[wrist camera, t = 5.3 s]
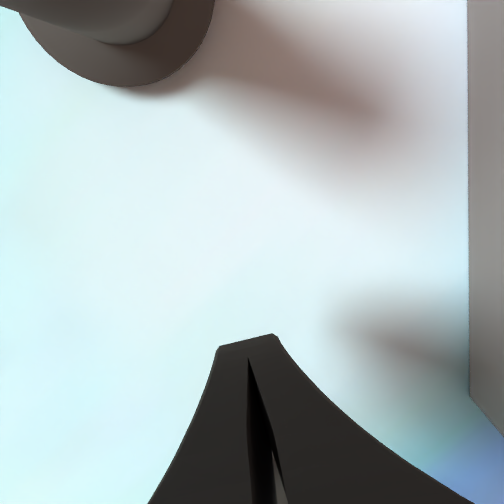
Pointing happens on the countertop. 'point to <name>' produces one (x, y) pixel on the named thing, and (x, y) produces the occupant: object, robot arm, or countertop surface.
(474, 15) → the panel
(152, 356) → the countertop surface
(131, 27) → the post
